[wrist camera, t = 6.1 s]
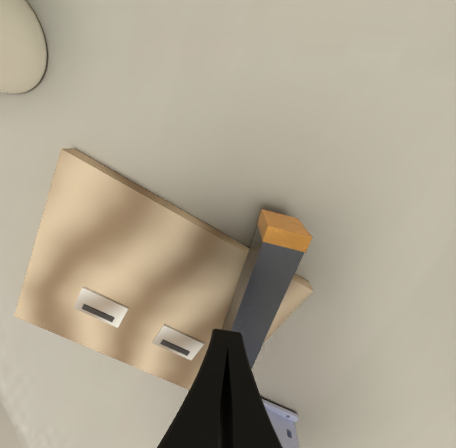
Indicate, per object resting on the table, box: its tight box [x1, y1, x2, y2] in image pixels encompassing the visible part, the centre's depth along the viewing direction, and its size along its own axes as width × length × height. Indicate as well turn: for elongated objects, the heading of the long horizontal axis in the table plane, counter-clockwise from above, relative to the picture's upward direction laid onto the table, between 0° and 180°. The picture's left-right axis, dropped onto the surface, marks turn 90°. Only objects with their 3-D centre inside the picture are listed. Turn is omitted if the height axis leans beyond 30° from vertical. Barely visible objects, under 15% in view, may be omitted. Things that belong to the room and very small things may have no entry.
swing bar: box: [222, 209, 312, 369], centre depth 17 cm, size 19×3×3 cm, turn 165°
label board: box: [14, 148, 313, 390], centre depth 20 cm, size 22×18×2 cm
